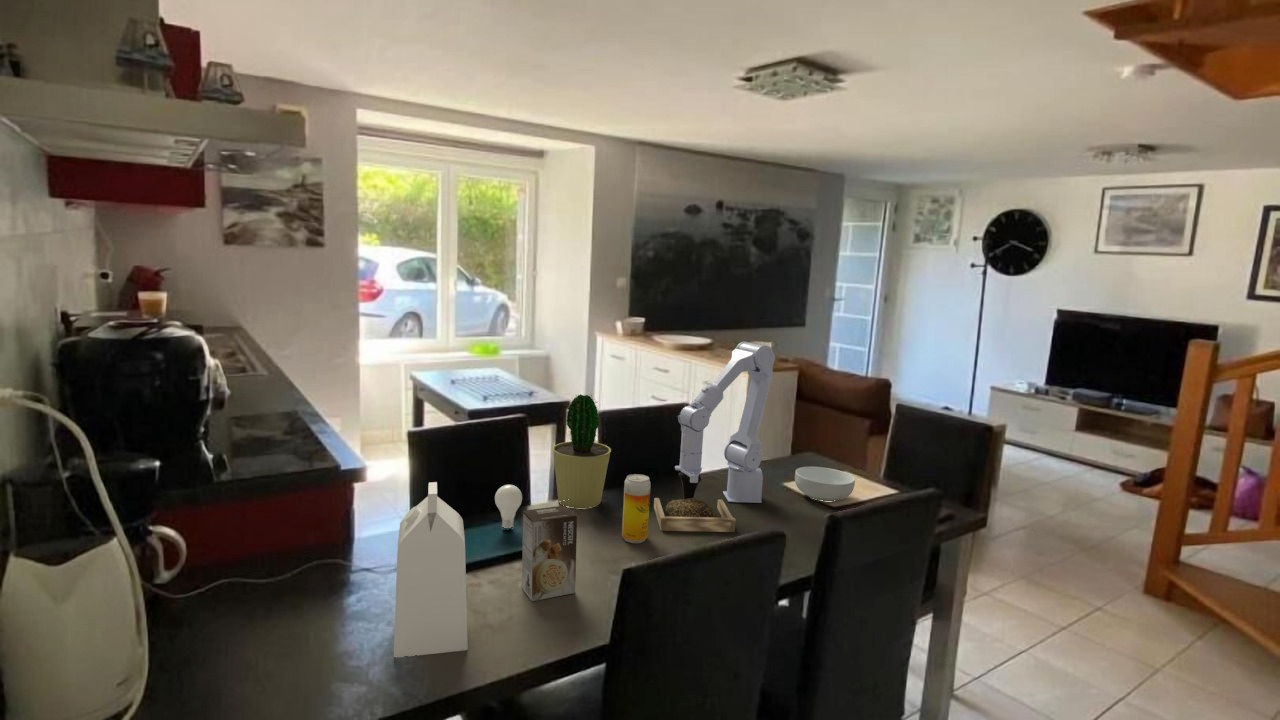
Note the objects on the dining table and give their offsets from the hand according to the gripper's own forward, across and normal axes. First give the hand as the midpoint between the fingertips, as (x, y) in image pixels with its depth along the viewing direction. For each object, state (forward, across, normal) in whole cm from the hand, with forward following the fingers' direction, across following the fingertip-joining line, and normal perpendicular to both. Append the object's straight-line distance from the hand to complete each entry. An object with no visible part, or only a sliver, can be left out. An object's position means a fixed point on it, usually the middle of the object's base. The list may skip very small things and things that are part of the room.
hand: (688, 500), depth 185 cm
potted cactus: (+2, -2, -29) cm, 29 cm away
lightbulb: (+2, +18, -46) cm, 49 cm away
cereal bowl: (+2, -10, +41) cm, 42 cm away
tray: (+2, +8, 0) cm, 8 cm away
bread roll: (+2, +6, 0) cm, 6 cm away
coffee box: (+2, +48, -35) cm, 59 cm away
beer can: (+2, +22, -16) cm, 27 cm away
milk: (+2, +64, -54) cm, 84 cm away
